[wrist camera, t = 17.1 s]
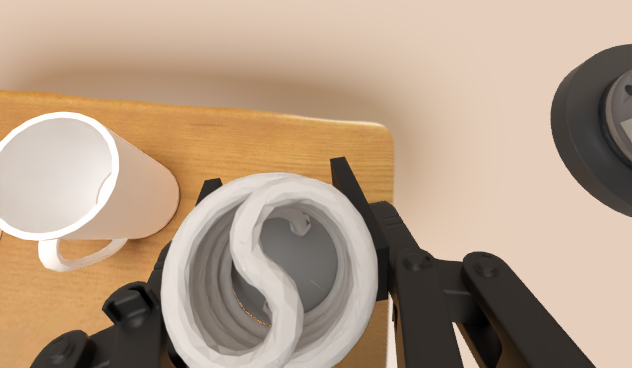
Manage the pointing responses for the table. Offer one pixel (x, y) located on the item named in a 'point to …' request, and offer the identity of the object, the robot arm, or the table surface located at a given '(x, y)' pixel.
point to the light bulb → (269, 276)
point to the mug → (80, 188)
